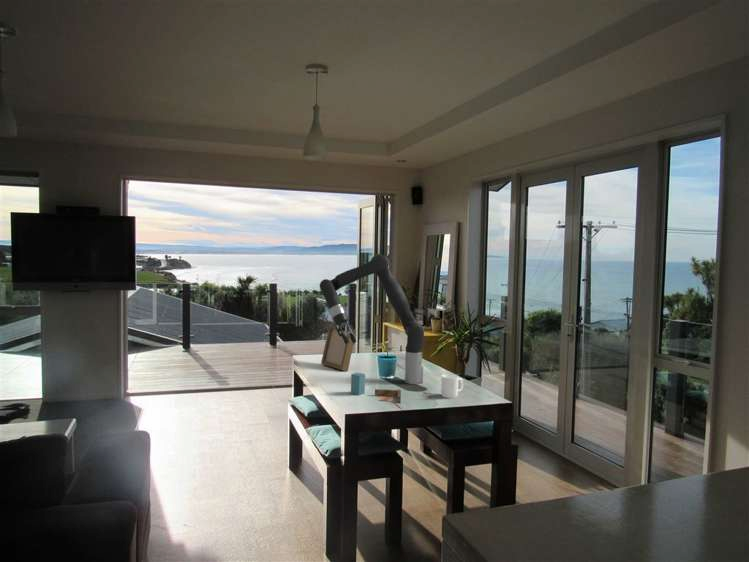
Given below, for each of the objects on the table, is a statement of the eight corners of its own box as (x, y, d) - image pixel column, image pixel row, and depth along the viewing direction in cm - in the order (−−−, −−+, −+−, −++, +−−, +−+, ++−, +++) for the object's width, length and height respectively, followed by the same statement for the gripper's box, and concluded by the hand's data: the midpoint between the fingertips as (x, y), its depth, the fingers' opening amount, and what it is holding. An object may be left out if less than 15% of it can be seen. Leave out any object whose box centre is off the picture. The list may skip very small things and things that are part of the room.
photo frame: (342, 371, 326) (343, 329, 325) (320, 365, 343) (322, 325, 341) (361, 369, 336) (362, 328, 334) (340, 362, 352) (341, 323, 351)
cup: (438, 394, 281) (438, 375, 280) (458, 392, 285) (459, 373, 285) (446, 399, 273) (447, 378, 273) (467, 396, 278) (468, 377, 277)
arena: (373, 402, 264) (373, 395, 264) (374, 394, 277) (375, 389, 277) (400, 403, 264) (400, 397, 263) (400, 395, 277) (400, 390, 276)
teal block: (356, 391, 283) (356, 372, 282) (364, 393, 280) (365, 373, 279) (350, 393, 278) (351, 374, 278) (358, 395, 276) (359, 375, 275)
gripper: (338, 311, 282) (350, 340, 278) (350, 311, 295) (362, 339, 291) (326, 318, 285) (338, 346, 281) (339, 317, 298) (351, 345, 294)
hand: (351, 342), depth 286 cm, fingers open, 8 cm apart
